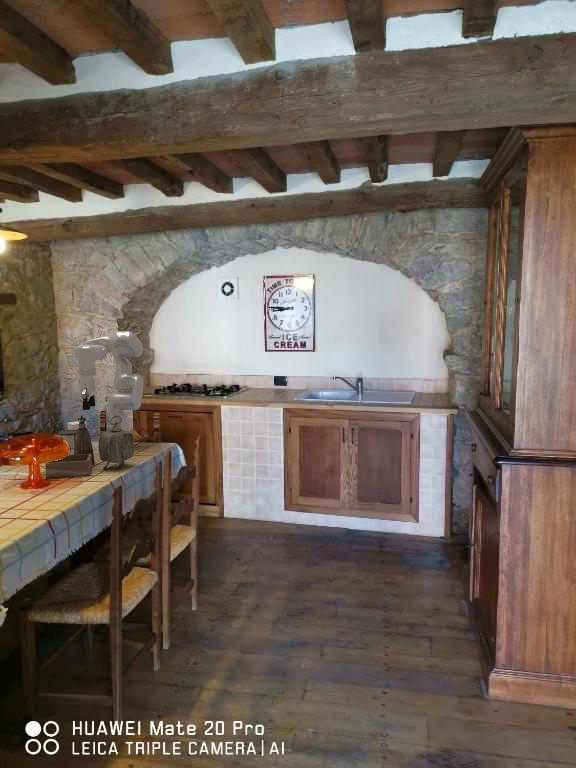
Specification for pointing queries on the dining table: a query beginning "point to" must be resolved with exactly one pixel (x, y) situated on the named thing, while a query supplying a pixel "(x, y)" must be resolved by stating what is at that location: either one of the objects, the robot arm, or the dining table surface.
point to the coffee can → (69, 438)
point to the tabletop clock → (116, 445)
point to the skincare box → (74, 425)
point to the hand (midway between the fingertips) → (89, 408)
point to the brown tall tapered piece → (83, 440)
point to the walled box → (69, 467)
